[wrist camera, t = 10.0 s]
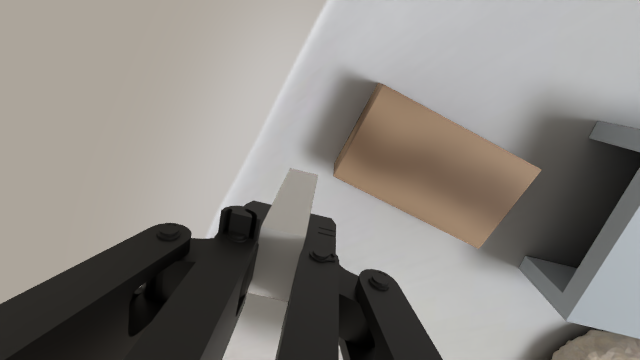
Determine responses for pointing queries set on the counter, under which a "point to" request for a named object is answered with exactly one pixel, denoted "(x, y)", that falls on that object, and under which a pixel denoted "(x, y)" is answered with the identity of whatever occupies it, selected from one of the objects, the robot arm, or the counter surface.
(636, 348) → the stone
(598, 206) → the counter surface
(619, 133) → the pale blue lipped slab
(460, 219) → the board
